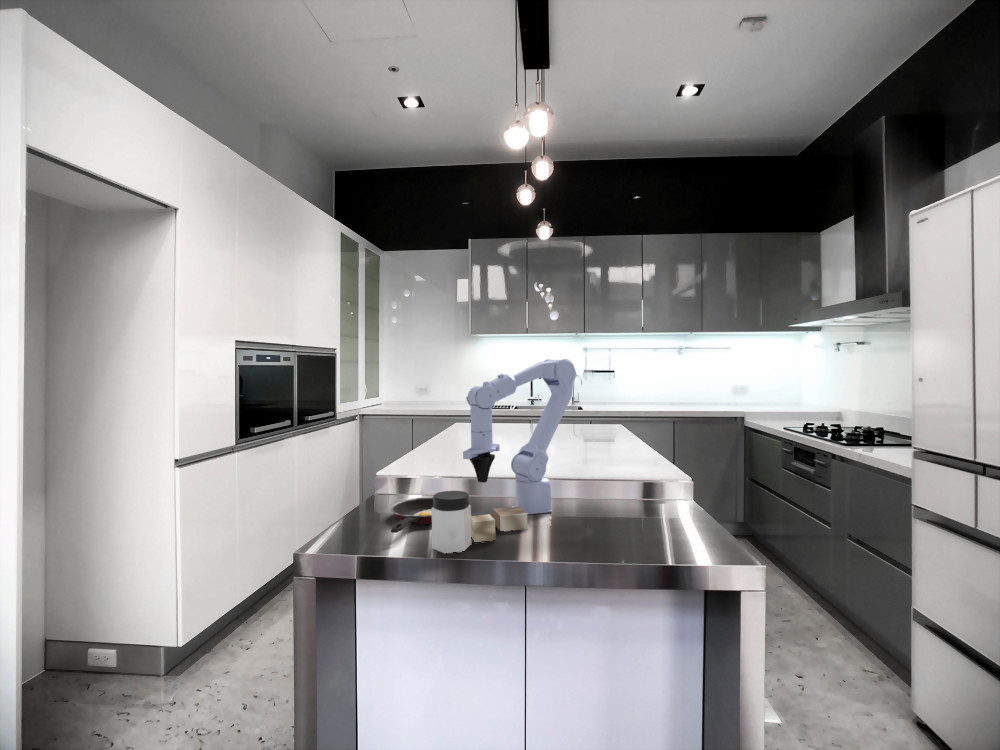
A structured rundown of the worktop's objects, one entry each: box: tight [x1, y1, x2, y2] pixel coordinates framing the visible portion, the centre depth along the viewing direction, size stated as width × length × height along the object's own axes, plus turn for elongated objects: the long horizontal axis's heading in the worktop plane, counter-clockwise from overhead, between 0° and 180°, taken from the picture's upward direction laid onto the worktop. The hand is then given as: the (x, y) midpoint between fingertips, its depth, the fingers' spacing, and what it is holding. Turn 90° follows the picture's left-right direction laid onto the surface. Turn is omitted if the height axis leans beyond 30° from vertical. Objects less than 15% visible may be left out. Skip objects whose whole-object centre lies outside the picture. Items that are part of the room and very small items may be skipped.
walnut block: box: [492, 505, 528, 532], centre depth 136 cm, size 7×4×7 cm
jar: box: [431, 490, 472, 554], centre depth 121 cm, size 9×8×12 cm
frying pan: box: [389, 496, 433, 534], centre depth 139 cm, size 19×32×4 cm, turn 169°
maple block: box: [471, 514, 496, 543], centre depth 127 cm, size 5×5×5 cm
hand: (482, 481), depth 143 cm, fingers closed
